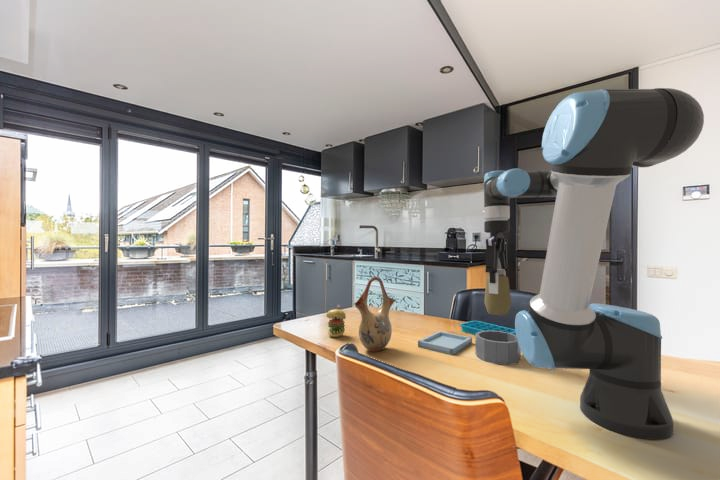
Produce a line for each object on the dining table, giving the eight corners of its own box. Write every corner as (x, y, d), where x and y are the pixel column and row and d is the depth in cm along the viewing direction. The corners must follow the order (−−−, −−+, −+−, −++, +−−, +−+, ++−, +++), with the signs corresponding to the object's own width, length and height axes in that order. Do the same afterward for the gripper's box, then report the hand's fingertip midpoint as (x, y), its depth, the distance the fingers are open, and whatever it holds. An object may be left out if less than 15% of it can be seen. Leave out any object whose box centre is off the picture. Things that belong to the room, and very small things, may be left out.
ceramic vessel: (362, 358, 103) (361, 279, 103) (348, 350, 111) (347, 277, 111) (402, 349, 111) (402, 276, 111) (387, 342, 119) (387, 274, 119)
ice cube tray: (475, 327, 140) (475, 320, 140) (520, 338, 124) (520, 330, 124) (457, 331, 134) (457, 324, 134) (503, 344, 117) (503, 336, 117)
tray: (452, 355, 106) (452, 349, 106) (417, 346, 114) (417, 341, 114) (472, 343, 118) (471, 337, 118) (439, 336, 126) (439, 331, 126)
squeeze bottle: (513, 312, 105) (512, 257, 105) (509, 317, 98) (508, 258, 98) (486, 310, 109) (486, 256, 109) (481, 314, 103) (481, 257, 103)
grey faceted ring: (513, 367, 95) (512, 345, 95) (469, 357, 103) (469, 337, 103) (524, 355, 105) (524, 335, 105) (484, 347, 113) (484, 328, 113)
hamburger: (324, 337, 125) (323, 306, 125) (329, 332, 132) (329, 303, 132) (343, 339, 123) (343, 307, 123) (348, 333, 130) (347, 303, 130)
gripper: (494, 222, 114) (495, 287, 114) (473, 219, 99) (474, 294, 99) (517, 221, 109) (518, 289, 109) (499, 218, 94) (499, 297, 94)
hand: (497, 292), depth 104 cm, fingers closed on squeeze bottle, 6 cm apart
